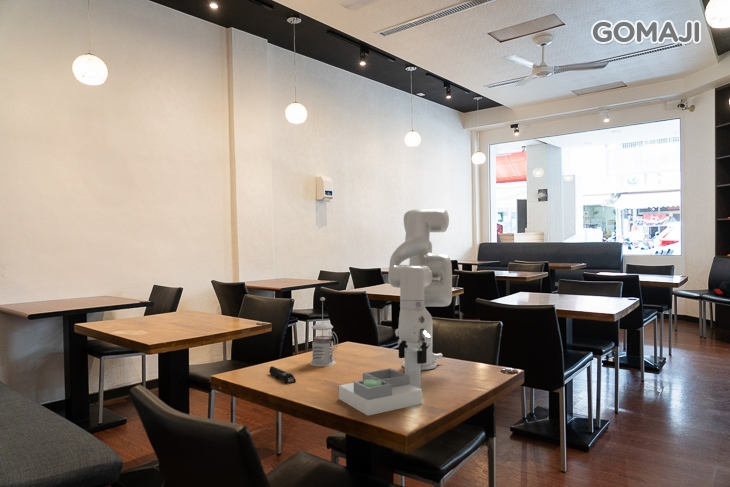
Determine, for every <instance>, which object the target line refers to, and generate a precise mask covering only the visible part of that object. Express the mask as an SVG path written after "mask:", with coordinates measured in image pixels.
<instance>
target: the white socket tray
mask: <svg viewBox="0 0 730 487" xmlns="http://www.w3.org/2000/svg"><path fill="white" fill-rule="evenodd" d="M366 380H379V381H381V382H382V385H380V386H374V387H367V386H365V385H363V382H364V381H366ZM338 400H340V401H342V402H344V403H345V404H348V405H349V406H350V407H352V408H354V409H355V410H357V411H359V412H360V413H363V415H365V416H372V415H373V416H374V415H377V414H381V413H386V412H390V411H396V410H400V409H406V408H410V407H414V406H415V407H416V406H418V405H423V389H422V388H421V389H420V388H417V387H415V386H412V385H410V376H409V375H406V374H405V372H404V373H403V372H401V371H398V370H396V369H393V368H390V367H389V368H384V369H379V370H372V371H365V372H362V379H361V380H355V381H353V382H351V383H345V384H339V385H338Z"/></svg>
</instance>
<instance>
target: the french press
mask: <svg viewBox="0 0 730 487" xmlns="http://www.w3.org/2000/svg"><path fill="white" fill-rule="evenodd" d="M325 300H326V298H325V297H324V296H323V297H322V296H321V297H320V298H319V301H321V302H322V303H321V304H322V305H321V307H322V308H321V310H322V315H321V317H322V320H321V321H322V322H319V323H318V322H317V323H315V325H313V326H312V327H311V329H312V330H314V331H315V330H317V331H322V335H317V336H313V341H312V342H311V344H312V354H311V355H312V356H311V357H312V358H311V359H312V360H311V361H310V363H309V365H310V366H314V367H331V366H334V365H336V362H337V361H335V360H334V351H335V350H336V349H338V346H339V345H338V344H339V339H338V336H337V334H336V333H335V331H331V332H330V331H329V332H328V335H324V331H328V330H332V329H333V328H334V326H333V325H332V324H331V323H328V322H324V301H325ZM333 334H334V335H335V336H334V335H333ZM332 339H333V340H334V341H333V340H332ZM336 341H337V343H336ZM335 346H336V347H335Z"/></svg>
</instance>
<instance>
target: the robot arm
mask: <svg viewBox="0 0 730 487" xmlns="http://www.w3.org/2000/svg"><path fill="white" fill-rule="evenodd" d="M449 216H450V215H449V213H448V211H447V209H445V208H427V209H426V208H424V209H423V208H421V209H412V210H411V209H410V210H407V211H406V212H405V213H404V215H403V226H404V231H405V236H404V237H405V238H404V241H403V242H402V243H401V244H400V245H399V246H398V247H396V249H395V250H394V251H393V253H392V255H391V256H390V259H389V267H388V275H387V276H388V282H389V285H390V286H392V287H393V288H397V289H399V292H400V293H399V300H400V301H399V303H400V304H399V307H400V310H399V315H398V316H399V317H398V328H396V329H394V334H395V337H396V340H397V343H396V344H397V346H398V358H399V359H405V348H415V347H416V348H418V349H419V350H417V363H418V364H421V371H427V370H433V369H436V368H437V367H438V364H437V362H436V360H441V359H442V358H443V356H444V355H443V354H442V352H439V353H436V352H435V353H434V352H433V317H432V315H431V313H430V312H429V311H428V310H427V308H426V307H442V308H443V307H448V306H450V305H451V303H452V299H453V269H452V268H453V266H452V265H453V264H452V261H451V258H450V257H449V255H446V254H441V253H440V254H433V244H432V241H431V240H430V233H445V232H446V231H447V229H448V227H449V224H450V217H449ZM408 259H409V260H408ZM405 260H408V261H409V262H408V263H409V264H402V263H403V262H404V261H405ZM401 365H402V367H403V368H405V360H403V361H402V362H401Z"/></svg>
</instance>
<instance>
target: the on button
mask: <svg viewBox="0 0 730 487" xmlns="http://www.w3.org/2000/svg"><path fill="white" fill-rule="evenodd" d="M363 385H365V386H367V387H374V386H380V385H382V382H381V381H379V380H366V381H364V382H363Z"/></svg>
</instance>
